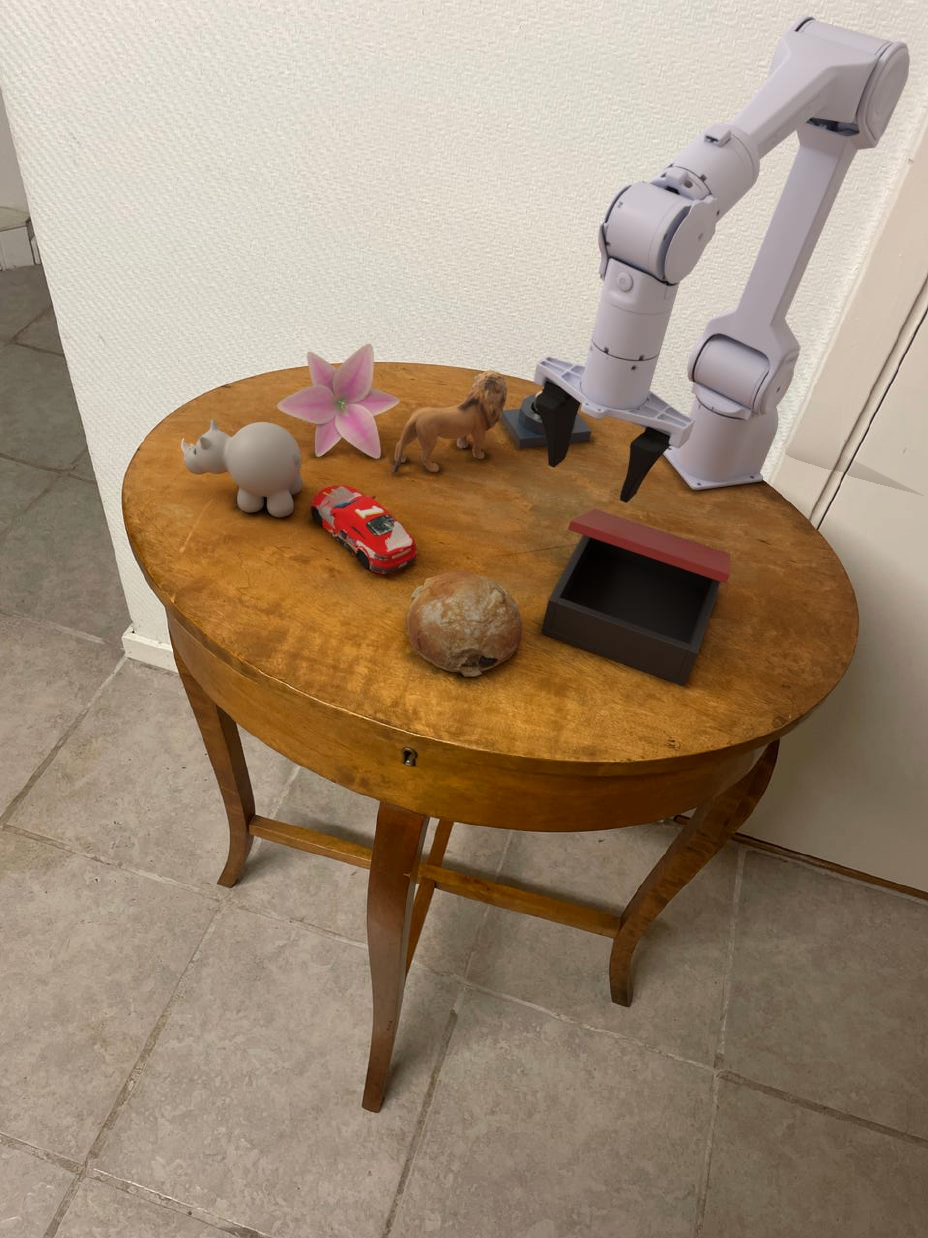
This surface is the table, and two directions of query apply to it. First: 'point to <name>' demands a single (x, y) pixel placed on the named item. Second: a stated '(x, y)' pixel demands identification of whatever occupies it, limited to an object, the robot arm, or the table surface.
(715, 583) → the black open box
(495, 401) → the lion figurine
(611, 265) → the robot arm
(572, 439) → the control block
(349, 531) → the race car
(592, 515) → the lid
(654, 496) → the table surface
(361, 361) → the lily
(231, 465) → the round bodied animal figurine
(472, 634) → the bread roll
